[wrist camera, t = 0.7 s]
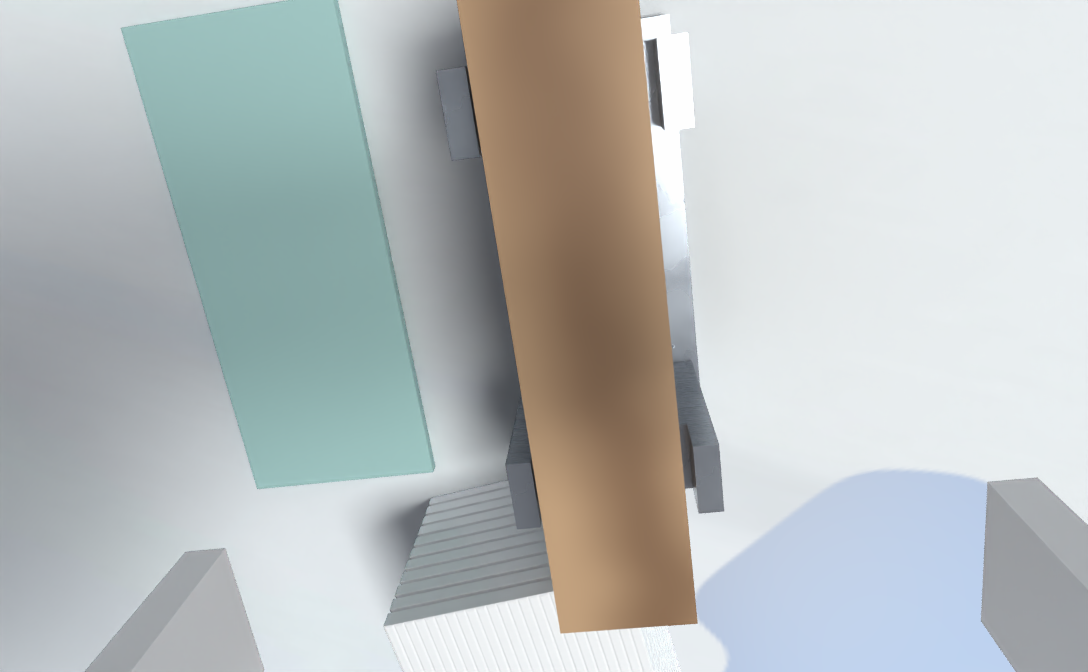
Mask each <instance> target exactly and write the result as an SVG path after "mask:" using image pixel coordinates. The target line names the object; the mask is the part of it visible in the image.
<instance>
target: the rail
mask: <svg viewBox="0 0 1088 672" xmlns="http://www.w3.org/2000/svg"><path fill="white" fill-rule="evenodd" d="M457 5H458V11H459V17H460V24H461V30H462V36H463V42H464V48H465V54H466V60H467V66H468V72H469V78H470V85H471V91H472V97H473V103H474V109H475V115H476V121H477V127H478V133H479V139H480V146H481V152H482V158H483V164H484V170H485V176H486V182H487V188H488V194H489V200H490V207H491V213H492V219H493V225H494V231H495V237H496V243H497V249H498V255H499V262H500V268H501V274H502V280H503V286H504V292H505V298H506V304H507V310H508V316H509V323H510V329H511V335H512V341H513V347H514V353H515V359H516V365H517V371H518V377H519V384H520V390H521V396H522V402H523V408H524V414H525V420H526V426H527V432H528V438H529V445H530V451H531V457H532V463H533V469H534V475H535V481H536V487H537V493H538V499H539V506H540V512H541V518H542V524H543V530H544V536H545V542H546V548H547V554H548V560H549V567H550V573H551V579H552V585H553V591H554V597H555V603H556V609H557V615H558V622H559V628H560V634H562V633H576V632H590V631H603V630H617V629H630V628H644V627H658V626H671V625H685V624H698V623H697V613H696V602H695V591H694V581H693V570H692V559H691V549H690V538H689V527H688V517H687V506H686V495H685V485H684V474H683V464H682V453H681V442H680V432H679V421H678V410H677V400H676V389H675V378H674V368H673V357H672V346H671V336H670V325H669V314H668V304H667V293H666V282H665V272H664V261H663V250H662V240H661V229H660V219H659V208H658V197H657V187H656V176H655V165H654V155H653V144H652V133H651V123H650V112H649V101H648V91H647V80H646V69H645V59H644V48H643V37H642V27H641V16H640V5H639V0H457Z"/></svg>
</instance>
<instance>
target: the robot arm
mask: <svg viewBox="0 0 1088 672" xmlns="http://www.w3.org/2000/svg"><path fill="white" fill-rule="evenodd" d="M986 506H987V507H986V526H985V548H984V549H985V550H984V569H983V589H982V611H981V622H982V623H983V624H984V626H985V628H986V629H987V630H988V632H989V633H990V635H991V636H992V638H993V639H994V641H995V642H996V644H997V645H998V646H999V648H1000V649H1001V650H1002V652H1003V654H1004V655H1005V657H1006V658H1007V660H1008V661H1009V663H1010V664H1011V665H1012V667H1013V668H1014V670H1015V671H1016V672H1088V525H1087V524H1086V523H1085V522H1084V521H1083V520H1082V519H1081V518H1080V517H1079V516H1078V515H1077V514H1075V513H1074V512H1073V511H1072V510H1071V509H1070V508H1069V507H1068V506H1067V505H1066V504H1065V503H1064V502H1063V501H1062V500H1061V499H1060V498H1059V497H1057V496H1056V495H1055V494H1054V493H1053V492H1052V491H1051V490H1050V489H1049V488H1048V487H1047V486H1046V485H1045V484H1044V483H1043V482H1042V481H1041V480H1039V479H1038V478H1027V479H1015V480H1004V481H992V482H988V484H987V505H986ZM85 672H264V667H263V664H262V661H261V658H260V655H259V652H258V649H257V646H256V642H255V639H254V636H253V633H252V630H251V627H250V624H249V621H248V617H247V614H246V611H245V608H244V605H243V602H242V599H241V596H240V593H239V589H238V586H237V583H236V580H235V577H234V574H233V571H232V568H231V564H230V561H229V558H228V555H227V552H226V549H225V548H223V549H212V550H200V551H189V552H185V553H184V554H183V555H182V557H181V558H180V559H179V560H178V561H177V563H176V564H175V565H174V566H173V567H172V568H171V570H170V571H169V572H168V573H167V574H166V576H165V577H164V578H163V579H162V580H161V582H160V583H159V584H158V585H157V586H156V587H155V589H154V590H153V591H152V592H151V593H150V595H149V596H148V597H147V598H146V599H145V601H144V602H143V603H142V604H141V605H140V606H139V608H138V609H137V610H136V611H135V612H134V614H133V615H132V616H131V617H130V618H129V620H128V621H127V622H126V623H125V624H124V625H123V627H122V628H121V629H120V630H119V631H118V633H117V634H116V635H115V636H114V637H113V639H112V640H111V641H110V642H109V643H108V644H107V646H106V647H105V648H104V649H103V650H102V652H101V653H100V654H99V655H98V656H97V658H96V659H95V660H94V661H93V662H92V663H91V665H90V666H89V667H88V668H87V669H86V671H85Z"/></svg>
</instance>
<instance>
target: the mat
mask: <svg viewBox="0 0 1088 672" xmlns="http://www.w3.org/2000/svg"><path fill="white" fill-rule="evenodd" d="M121 30H122V34H123V37H124V40H125V44H126V47H127V51H128V54H129V57H130V61H131V64H132V67H133V71H134V74H135V78H136V81H137V84H138V88H139V91H140V94H141V98H142V101H143V105H144V108H145V111H146V115H147V118H148V122H149V125H150V128H151V132H152V135H153V138H154V142H155V145H156V149H157V152H158V155H159V159H160V162H161V165H162V169H163V172H164V176H165V179H166V182H167V186H168V189H169V192H170V196H171V199H172V203H173V206H174V209H175V213H176V216H177V219H178V223H179V226H180V230H181V233H182V236H183V240H184V243H185V247H186V250H187V253H188V257H189V260H190V263H191V267H192V270H193V274H194V277H195V280H196V284H197V287H198V290H199V294H200V297H201V301H202V304H203V307H204V311H205V314H206V317H207V321H208V324H209V328H210V331H211V334H212V338H213V341H214V344H215V348H216V351H217V355H218V358H219V361H220V365H221V368H222V372H223V375H224V378H225V382H226V385H227V388H228V392H229V395H230V399H231V402H232V405H233V409H234V412H235V415H236V419H237V422H238V426H239V429H240V432H241V436H242V439H243V442H244V446H245V449H246V453H247V456H248V459H249V463H250V466H251V469H252V473H253V476H254V480H255V483H256V486H257V489H264V488H274V487H285V486H295V485H305V484H316V483H326V482H336V481H346V480H357V479H367V478H377V477H388V476H398V475H408V474H419V473H429V472H433V471H434V469H435V463H434V458H433V453H432V449H431V444H430V439H429V434H428V430H427V425H426V420H425V415H424V410H423V406H422V401H421V396H420V391H419V387H418V382H417V377H416V372H415V368H414V363H413V358H412V353H411V348H410V344H409V339H408V334H407V329H406V325H405V320H404V315H403V310H402V306H401V301H400V296H399V291H398V286H397V282H396V277H395V272H394V267H393V263H392V258H391V253H390V248H389V244H388V239H387V234H386V229H385V224H384V220H383V215H382V210H381V205H380V201H379V196H378V191H377V186H376V182H375V177H374V172H373V167H372V162H371V158H370V153H369V148H368V143H367V139H366V134H365V129H364V124H363V120H362V115H361V110H360V105H359V100H358V96H357V91H356V86H355V81H354V77H353V72H352V67H351V62H350V57H349V53H348V48H347V43H346V38H345V34H344V29H343V24H342V19H341V15H340V10H339V5H338V0H288V1H282V2H276V3H270V4H263V5H257V6H251V7H245V8H239V9H233V10H227V11H221V12H215V13H209V14H203V15H197V16H191V17H185V18H178V19H172V20H166V21H160V22H154V23H148V24H142V25H136V26H130V27H124V28H121Z"/></svg>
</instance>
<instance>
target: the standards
mask: <svg viewBox="0 0 1088 672" xmlns="http://www.w3.org/2000/svg"><path fill="white" fill-rule="evenodd" d="M641 27H642V37H643V48H644V59H645V69H646V80H647V91H648V101H649V112H650V123H651V133H652V144H653V155H654V165H655V176H656V187H657V197H658V208H659V219H660V229H661V240H662V250H663V261H664V272H665V282H666V293H667V304H668V314H669V325H670V336H671V346H672V357H673V368H674V378H675V389H676V400H677V410H678V421H679V432H680V442H681V453H682V464H683V474H684V485H685V488H693V491H694V495H695V499H696V504H697V508H698V512H699V513H711V512H722V511H724V504H723V491H722V477H721V464H720V451H719V443H718V440H717V437H716V434H715V431H714V428H713V424H712V421H711V418H710V415H709V412H708V409H707V406H706V403H705V400H704V397H703V394H702V391H701V388H700V382H699V370H698V358H697V346H696V334H695V322H694V310H693V298H692V285H691V273H690V261H689V249H688V237H687V225H686V213H685V201H684V189H683V177H682V165H681V153H680V141H679V129H684V128H692V127H695V123H694V110H693V97H692V84H691V70H690V57H689V44H688V33H682V34H675V35H671V32H670V20H669V14H668V15H662V16H655V17H649V18H642V19H641ZM436 74H437V80H438V85H439V91H440V97H441V102H442V108H443V114H444V119H445V125H446V131H447V136H448V142H449V148H450V153H451V159H452V161H454V160H462V159H469V158H476V157H480V156H482V152H481V146H480V139H479V133H478V127H477V121H476V115H475V109H474V103H473V97H472V91H471V85H470V78H469V72H468V66H464V67H458V68H451V69H445V70H438V71H436ZM506 470H507V476H508V482H509V487H510V493H511V499H512V504H513V510H514V516H515V521H516V527H517V530H518V529H529V528H540V527H541V523H542V518H541V512H540V506H539V499H538V493H537V487H536V481H535V475H534V469H533V463H532V457H531V451H530V445H529V438H528V432H527V426H526V420H525V414H524V408H523V402H522V396H521V397H520V402H519V406H518V411H517V415H516V420H515V424H514V429H513V433H512V438H511V442H510V447H509V452H508V456H507V461H506Z"/></svg>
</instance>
